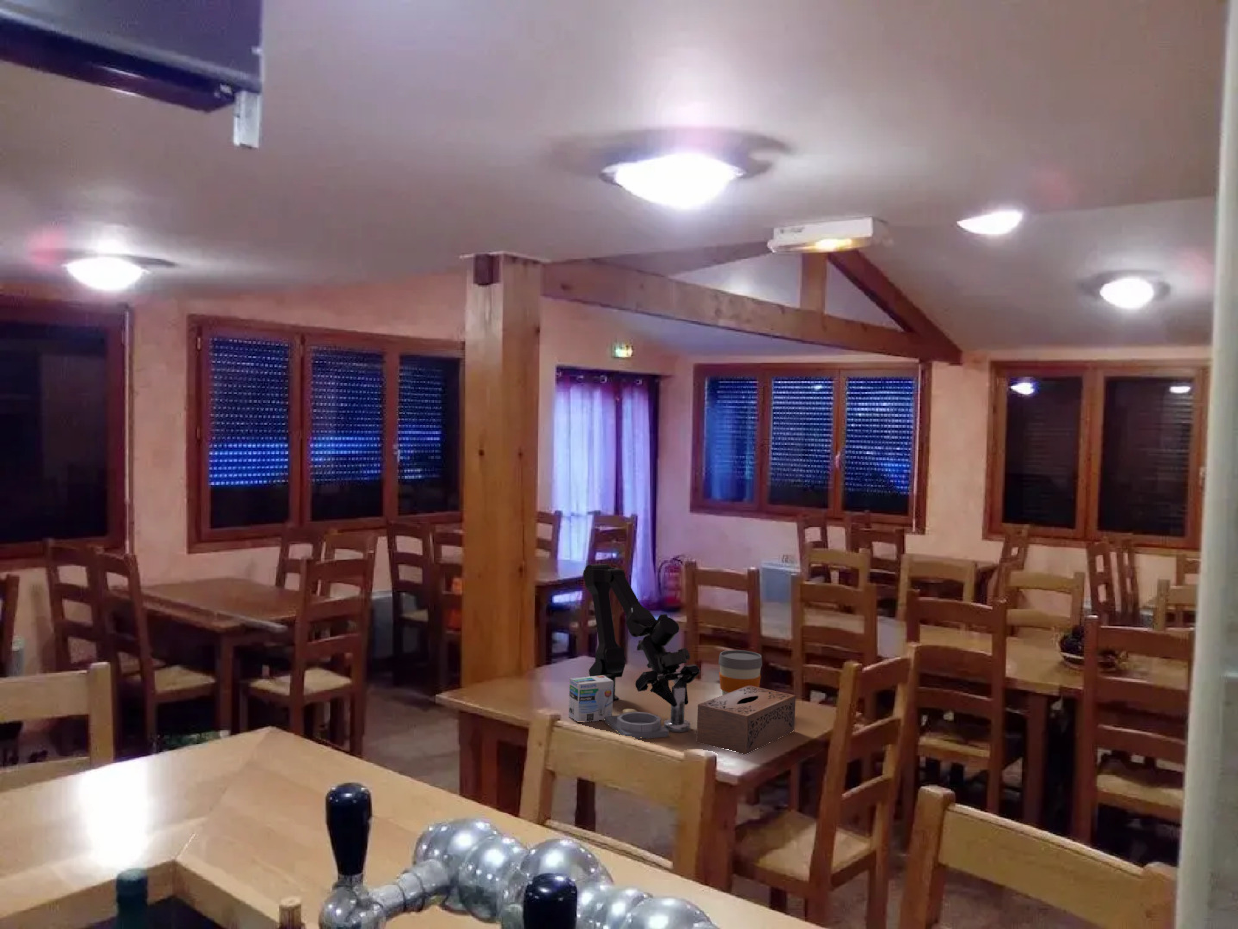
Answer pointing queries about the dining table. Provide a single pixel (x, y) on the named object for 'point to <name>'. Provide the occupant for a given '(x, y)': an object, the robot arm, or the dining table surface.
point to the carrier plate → (634, 734)
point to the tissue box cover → (745, 719)
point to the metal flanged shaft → (677, 712)
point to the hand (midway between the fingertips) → (681, 705)
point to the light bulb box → (590, 698)
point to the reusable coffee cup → (739, 670)
